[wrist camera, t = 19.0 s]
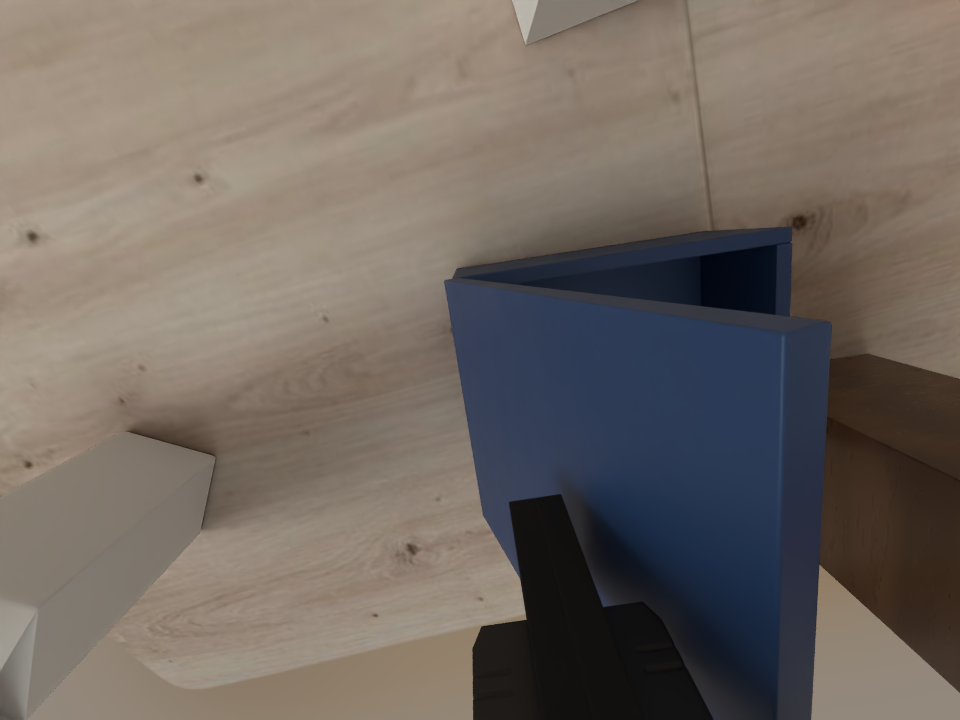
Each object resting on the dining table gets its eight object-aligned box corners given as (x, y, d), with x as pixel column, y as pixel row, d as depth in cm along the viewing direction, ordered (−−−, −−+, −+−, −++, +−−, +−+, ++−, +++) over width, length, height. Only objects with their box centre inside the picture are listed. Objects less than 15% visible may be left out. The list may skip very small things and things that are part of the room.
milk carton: (201, 531, 36) (-72, 826, 18) (111, 508, 36) (-270, 790, 17) (218, 455, 35) (-65, 693, 16) (123, 429, 34) (-284, 647, 16)
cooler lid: (835, 320, 6) (784, 332, 5) (799, 982, 9) (767, 1004, 9) (459, 277, 23) (443, 280, 23) (495, 511, 26) (483, 515, 26)
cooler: (704, 231, 31) (793, 226, 23) (708, 411, 35) (786, 465, 26) (456, 268, 32) (451, 278, 23) (484, 444, 35) (489, 508, 27)
